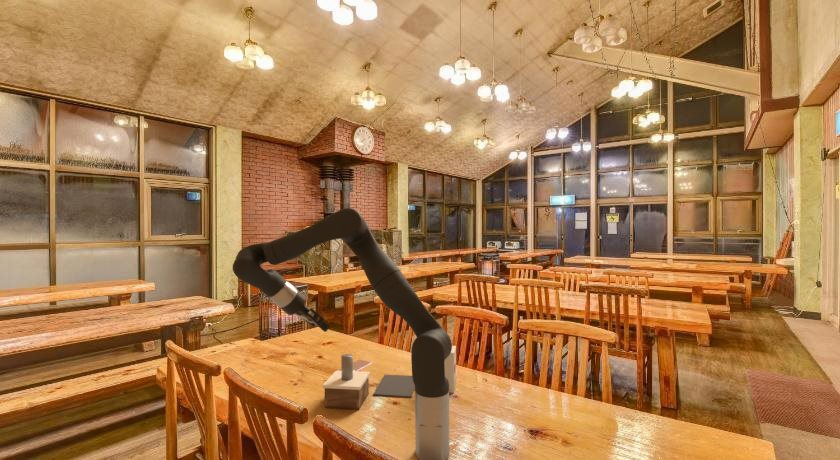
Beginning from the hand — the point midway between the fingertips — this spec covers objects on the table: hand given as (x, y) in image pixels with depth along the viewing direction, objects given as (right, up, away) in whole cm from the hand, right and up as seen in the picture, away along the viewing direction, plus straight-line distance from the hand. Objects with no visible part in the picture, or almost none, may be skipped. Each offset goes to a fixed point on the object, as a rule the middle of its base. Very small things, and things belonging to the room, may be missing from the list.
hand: (321, 326), depth 127 cm
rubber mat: (+24, -28, +19) cm, 42 cm away
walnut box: (+7, -28, +7) cm, 30 cm away
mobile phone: (+5, -28, +39) cm, 49 cm away
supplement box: (+42, -28, +18) cm, 54 cm away
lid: (+7, -23, +7) cm, 25 cm away
